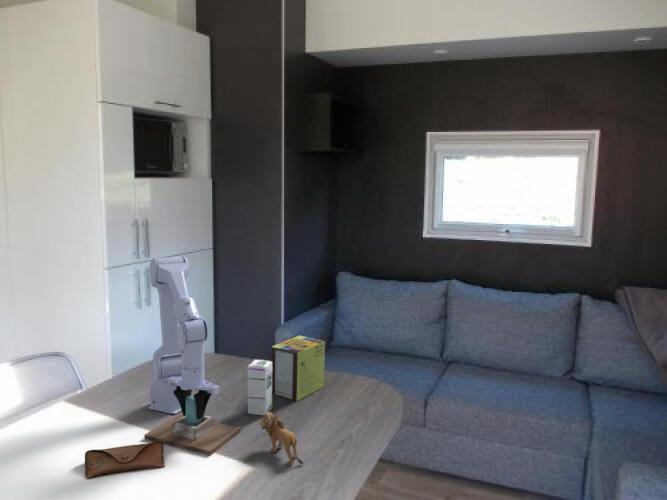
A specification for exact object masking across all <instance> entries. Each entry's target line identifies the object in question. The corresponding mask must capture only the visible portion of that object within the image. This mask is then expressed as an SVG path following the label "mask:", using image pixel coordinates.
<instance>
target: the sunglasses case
mask: <svg viewBox="0 0 667 500" xmlns="http://www.w3.org/2000/svg"><path fill="white" fill-rule="evenodd" d="M165 467H166V465H165V460H164V444H163V442H162V441H156V442H154V441H151V442H148V443H139V444H138V443H137V444H131V445H122V446H117V447H116V446H115V447H110V448H103V449H89V450H87V451H85V453H84V468H85V469H84V471H85V472H84V473H85V474H84V476H85V480H93V479H94V478H95V479H96V478H100V477H107V476H113V475H118V474H124V473H131V472H132V473H133V472H140V471H145V470H153V469H154V470H155V469H162V468H165Z"/></svg>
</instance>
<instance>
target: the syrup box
mask: <svg viewBox="0 0 667 500" xmlns="http://www.w3.org/2000/svg"><path fill="white" fill-rule="evenodd" d="M272 409H273V394H272V361H271V360H267V359H253V361H252V362H251V363H250V364H248V365H247V413H248V414H251V415H255V416H256V415H258V416H265V414H266V413H270V412H271V410H272Z"/></svg>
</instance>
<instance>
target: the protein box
mask: <svg viewBox="0 0 667 500" xmlns="http://www.w3.org/2000/svg"><path fill="white" fill-rule="evenodd" d="M270 349H271V350H270V355H271V357H270V361H272V396H273V395H274V396H277V397H280V398H281V397H282V398H283V399H284V398H285V399H288V400H291V401H295V402H298V401H300V400H302V399H304V398H305V397H307V396H309V395H310V394H313V393H315V392H316V391H318V390H320V389H322V388H324V386H325V362H326V361H325V360H326V359H325V354H326V352H325V350H326V340H322V339H317V338H313V337H308V336H303V335H297V336H295V337H293V338H290V339H287V340H285V341H282V342H280V343H277V344H275V345H272V346H271V347H270Z"/></svg>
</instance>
